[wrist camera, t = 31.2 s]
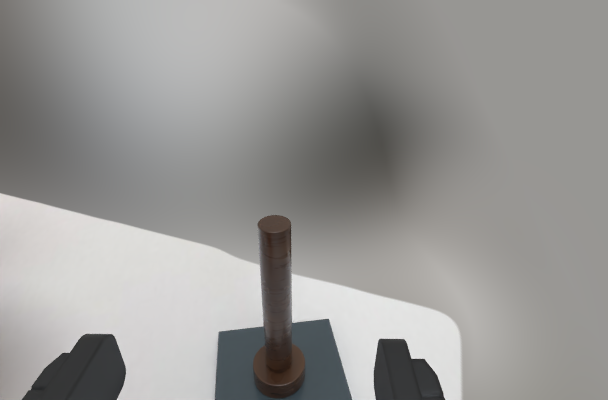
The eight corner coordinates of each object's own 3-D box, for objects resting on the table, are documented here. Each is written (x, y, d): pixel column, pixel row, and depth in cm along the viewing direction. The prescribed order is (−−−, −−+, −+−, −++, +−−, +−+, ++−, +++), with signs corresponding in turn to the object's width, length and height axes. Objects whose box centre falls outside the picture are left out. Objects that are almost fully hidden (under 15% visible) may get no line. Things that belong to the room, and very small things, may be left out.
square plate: (328, 324, 34) (328, 318, 33) (359, 435, 25) (360, 428, 25) (219, 337, 32) (218, 331, 32) (213, 459, 24) (211, 453, 23)
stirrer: (300, 350, 30) (301, 205, 24) (308, 394, 27) (312, 239, 20) (253, 356, 30) (240, 209, 23) (255, 402, 26) (241, 245, 20)
